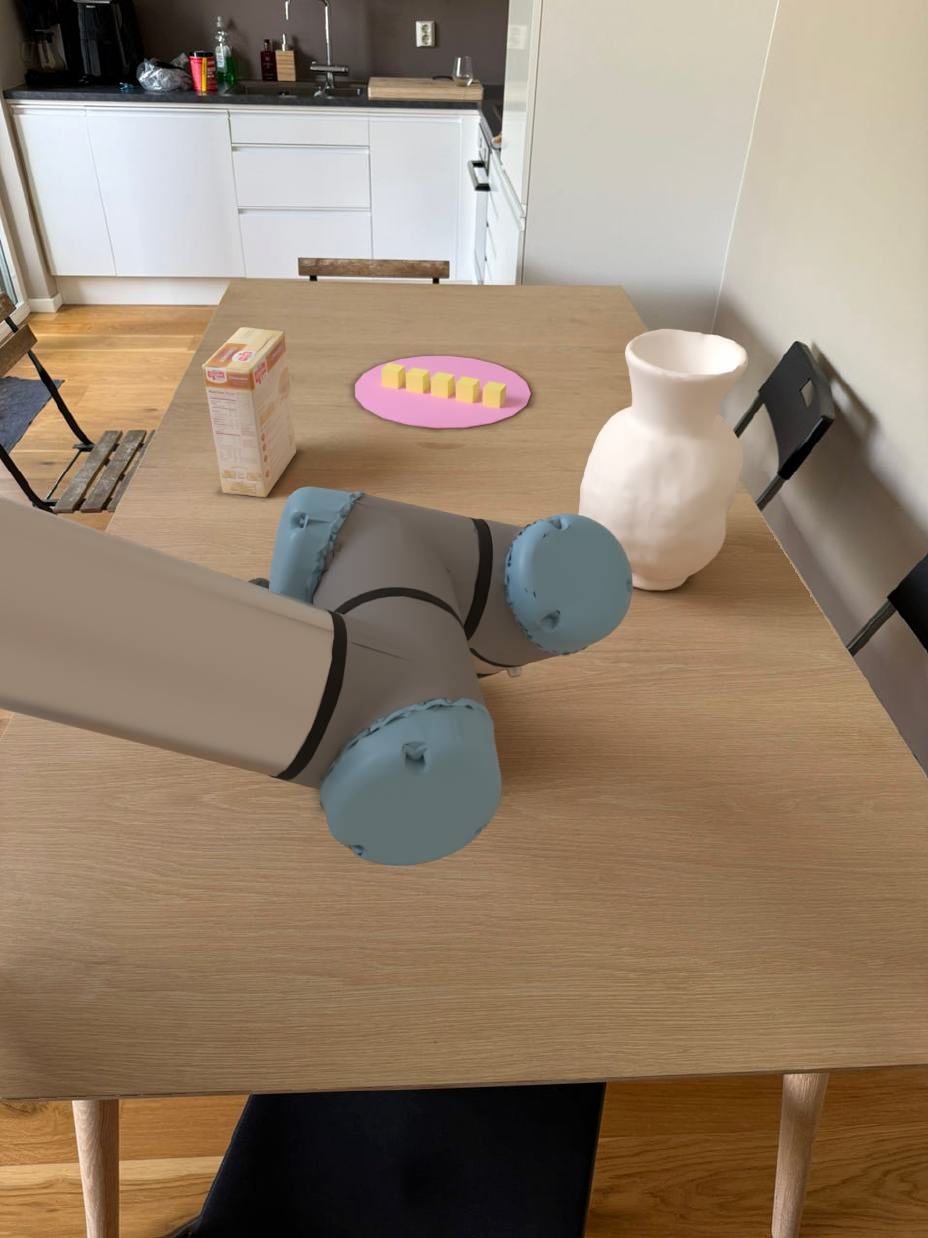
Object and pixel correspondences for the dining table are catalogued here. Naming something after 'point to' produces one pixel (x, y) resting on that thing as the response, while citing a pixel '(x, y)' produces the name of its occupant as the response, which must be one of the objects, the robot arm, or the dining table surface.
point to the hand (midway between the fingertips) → (397, 660)
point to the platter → (442, 392)
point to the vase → (668, 457)
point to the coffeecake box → (251, 410)
